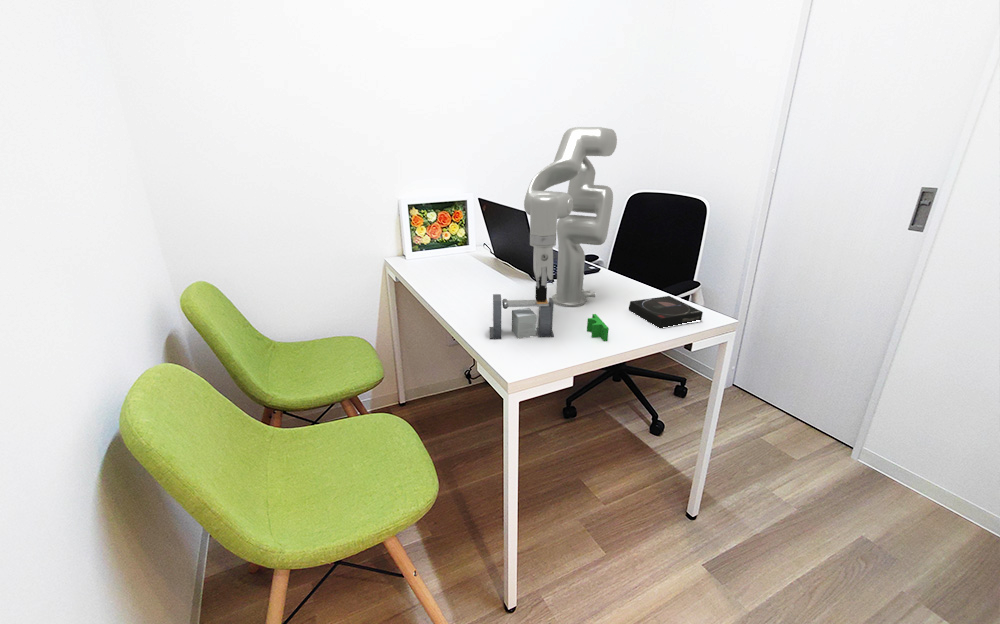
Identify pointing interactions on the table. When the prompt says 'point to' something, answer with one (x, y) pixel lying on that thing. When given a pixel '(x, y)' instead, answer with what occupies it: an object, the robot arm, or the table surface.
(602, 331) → the pipe clamp
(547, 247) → the robot arm
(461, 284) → the table surface
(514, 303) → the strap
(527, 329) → the product box
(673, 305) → the portable cd player
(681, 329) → the table surface
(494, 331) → the hinge post
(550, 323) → the lug block
